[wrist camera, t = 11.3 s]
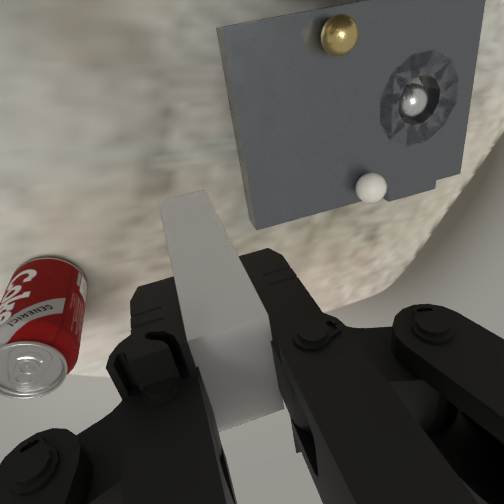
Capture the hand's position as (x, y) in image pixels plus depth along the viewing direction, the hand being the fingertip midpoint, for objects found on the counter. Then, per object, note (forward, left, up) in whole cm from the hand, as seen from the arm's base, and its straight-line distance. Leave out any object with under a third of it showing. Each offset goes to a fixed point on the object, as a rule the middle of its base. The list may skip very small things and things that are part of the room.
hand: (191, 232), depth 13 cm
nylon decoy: (+11, +19, -20) cm, 30 cm away
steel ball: (+4, +25, -23) cm, 34 cm away
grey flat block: (+4, +19, -24) cm, 31 cm away
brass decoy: (-3, +16, -20) cm, 26 cm away
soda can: (+14, -14, -25) cm, 32 cm away
